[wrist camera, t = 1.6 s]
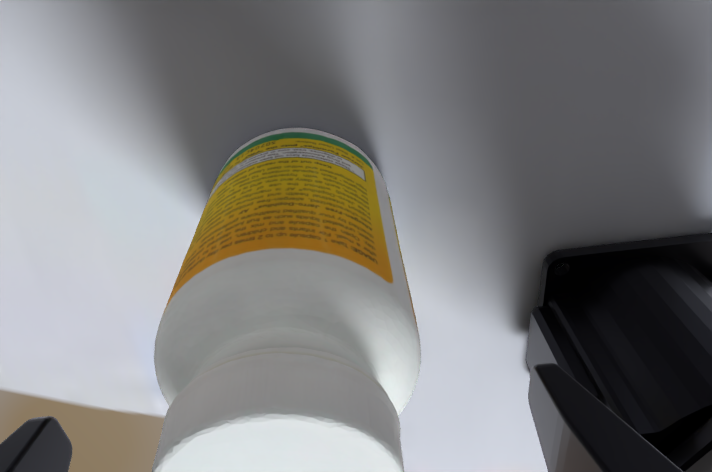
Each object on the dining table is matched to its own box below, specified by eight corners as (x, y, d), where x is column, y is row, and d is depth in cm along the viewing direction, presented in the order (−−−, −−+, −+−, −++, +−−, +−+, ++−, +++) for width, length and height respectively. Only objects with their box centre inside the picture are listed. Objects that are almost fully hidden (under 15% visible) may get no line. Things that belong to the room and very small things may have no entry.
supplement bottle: (415, 230, 17) (499, 526, 9) (276, 296, 18) (239, 610, 10) (333, 86, 14) (349, 325, 6) (175, 173, 16) (21, 470, 8)
